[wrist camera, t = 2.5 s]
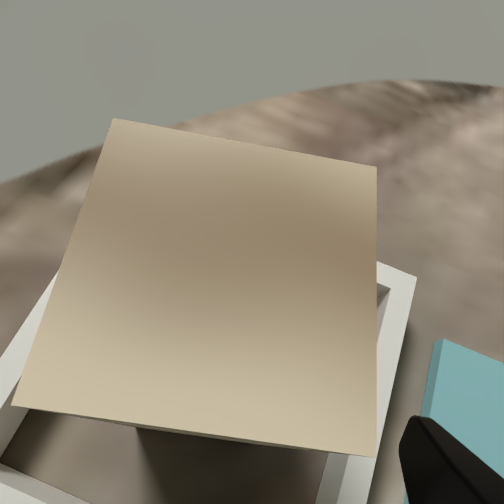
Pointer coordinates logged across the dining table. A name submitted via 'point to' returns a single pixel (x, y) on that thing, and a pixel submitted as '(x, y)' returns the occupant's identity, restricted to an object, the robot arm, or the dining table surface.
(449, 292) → the dining table surface
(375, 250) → the birch block
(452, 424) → the teal board
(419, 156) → the dining table surface
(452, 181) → the dining table surface
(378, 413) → the tray
